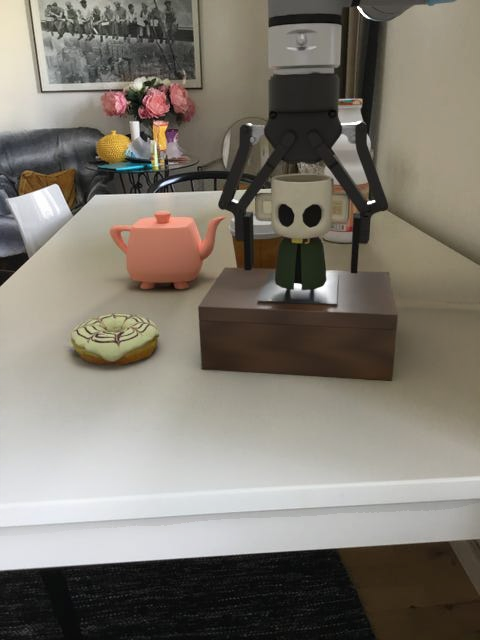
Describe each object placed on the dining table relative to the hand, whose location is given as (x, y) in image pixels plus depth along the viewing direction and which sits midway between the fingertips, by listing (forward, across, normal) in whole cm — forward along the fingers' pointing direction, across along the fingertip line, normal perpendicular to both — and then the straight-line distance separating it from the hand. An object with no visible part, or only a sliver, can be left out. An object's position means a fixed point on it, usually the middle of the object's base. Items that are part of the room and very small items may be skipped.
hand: (300, 268), depth 68 cm
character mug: (+2, 0, 0) cm, 2 cm away
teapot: (+11, -24, +24) cm, 36 cm away
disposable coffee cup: (+11, -8, +20) cm, 24 cm away
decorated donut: (+11, -23, -4) cm, 26 cm away
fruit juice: (+11, +5, +56) cm, 57 cm away
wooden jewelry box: (+10, 0, 0) cm, 10 cm away
